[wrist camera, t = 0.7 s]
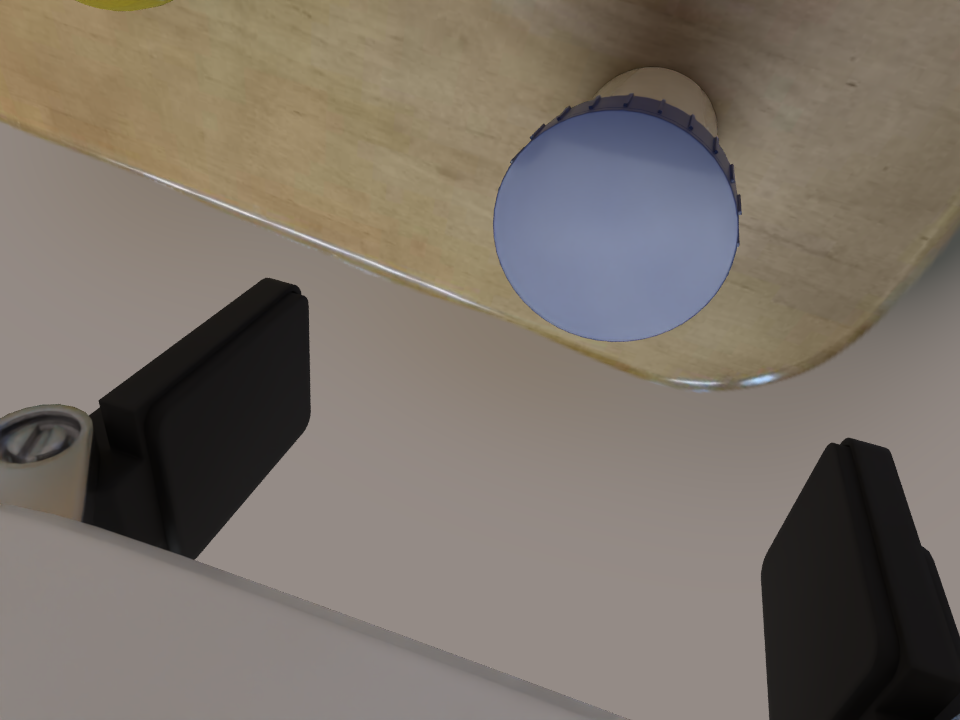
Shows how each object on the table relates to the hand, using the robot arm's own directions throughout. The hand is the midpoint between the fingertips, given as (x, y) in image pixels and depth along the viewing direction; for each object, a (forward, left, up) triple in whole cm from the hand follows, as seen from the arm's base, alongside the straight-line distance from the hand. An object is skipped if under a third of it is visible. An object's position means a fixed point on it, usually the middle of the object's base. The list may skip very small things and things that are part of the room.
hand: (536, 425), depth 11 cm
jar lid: (0, 0, -9) cm, 9 cm away
